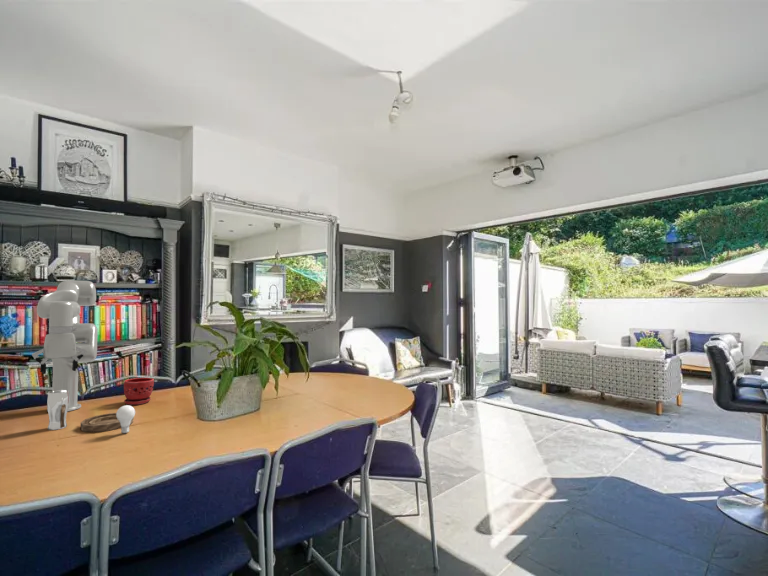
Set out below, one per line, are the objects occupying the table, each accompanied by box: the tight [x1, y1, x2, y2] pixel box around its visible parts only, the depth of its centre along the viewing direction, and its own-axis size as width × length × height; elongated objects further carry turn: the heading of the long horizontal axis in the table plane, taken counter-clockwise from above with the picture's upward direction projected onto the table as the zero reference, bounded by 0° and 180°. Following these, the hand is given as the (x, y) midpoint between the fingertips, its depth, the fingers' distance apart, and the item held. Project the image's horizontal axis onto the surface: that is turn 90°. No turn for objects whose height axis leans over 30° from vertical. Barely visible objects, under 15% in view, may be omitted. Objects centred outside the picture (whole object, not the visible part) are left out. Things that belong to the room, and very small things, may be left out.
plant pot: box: [123, 377, 155, 406], centre depth 198 cm, size 13×13×12 cm
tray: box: [80, 412, 135, 433], centre depth 163 cm, size 18×18×3 cm
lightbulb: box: [115, 404, 136, 434], centre depth 153 cm, size 6×6×11 cm
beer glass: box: [46, 390, 69, 431], centre depth 159 cm, size 7×7×15 cm
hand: (59, 372), depth 159 cm, fingers open, 9 cm apart
